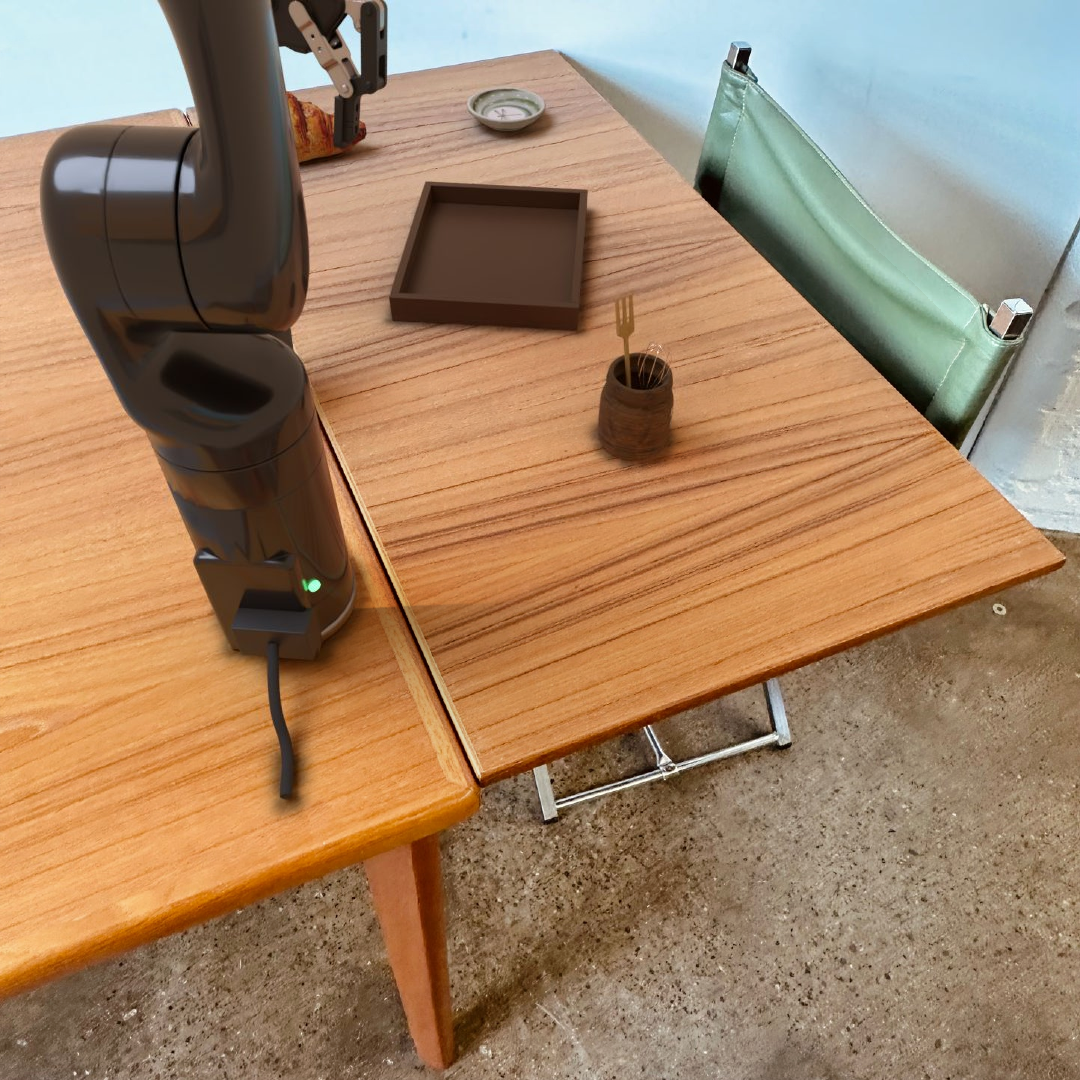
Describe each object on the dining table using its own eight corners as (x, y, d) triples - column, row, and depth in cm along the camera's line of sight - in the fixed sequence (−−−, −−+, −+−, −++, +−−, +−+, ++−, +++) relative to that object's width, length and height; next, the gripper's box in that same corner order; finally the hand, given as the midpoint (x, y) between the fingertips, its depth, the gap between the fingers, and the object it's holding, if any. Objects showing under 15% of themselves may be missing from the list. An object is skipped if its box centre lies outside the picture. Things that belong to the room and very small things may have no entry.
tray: (577, 331, 86) (578, 307, 84) (391, 320, 86) (388, 297, 84) (586, 211, 100) (587, 189, 98) (427, 203, 100) (425, 180, 98)
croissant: (192, 190, 108) (166, 147, 100) (195, 116, 110) (170, 68, 102) (372, 184, 108) (360, 141, 101) (371, 111, 111) (359, 63, 103)
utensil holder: (621, 472, 73) (636, 352, 64) (581, 426, 77) (589, 306, 68) (682, 448, 75) (704, 328, 66) (640, 404, 79) (655, 284, 70)
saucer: (558, 131, 112) (559, 111, 110) (486, 147, 109) (486, 126, 107) (524, 99, 117) (524, 80, 116) (455, 113, 115) (454, 94, 113)
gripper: (162, -141, 59) (180, 124, 69) (373, -95, 58) (361, 166, 68) (217, -139, 65) (226, 105, 75) (409, -97, 64) (393, 144, 74)
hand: (290, 134), depth 71 cm, fingers open, 8 cm apart
